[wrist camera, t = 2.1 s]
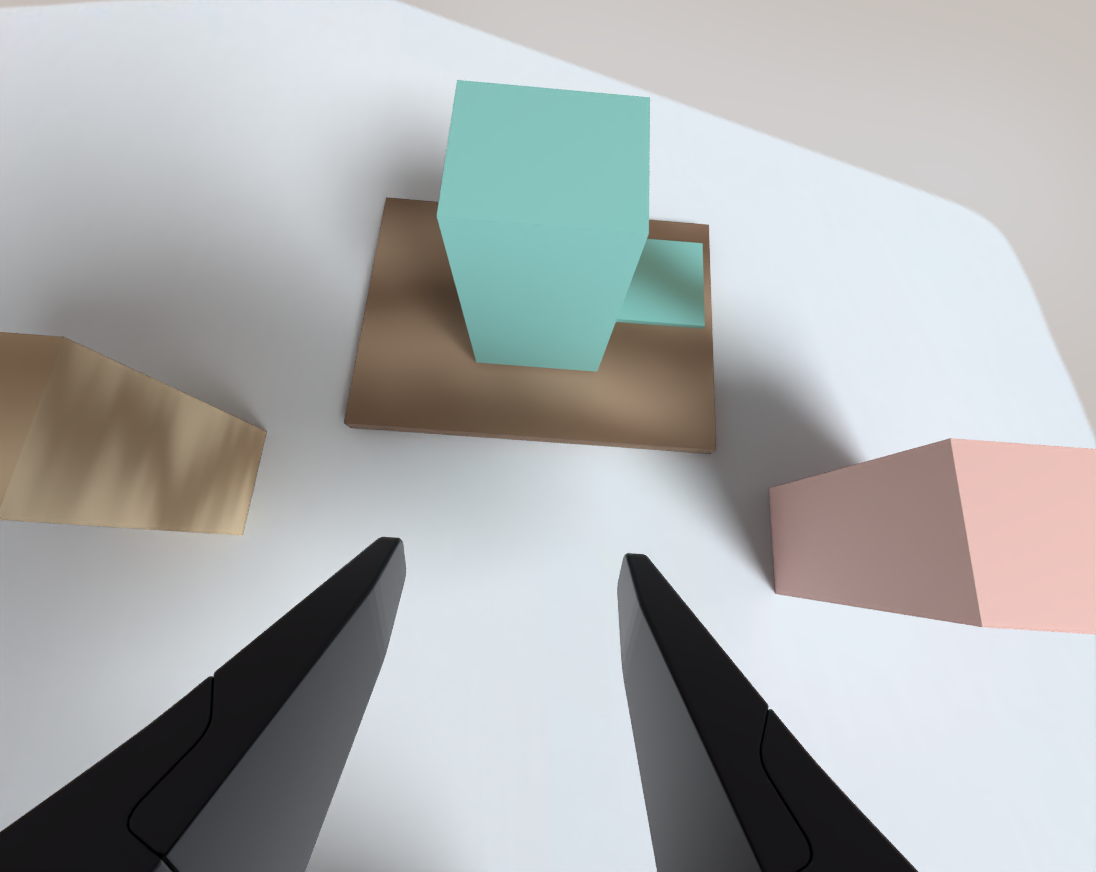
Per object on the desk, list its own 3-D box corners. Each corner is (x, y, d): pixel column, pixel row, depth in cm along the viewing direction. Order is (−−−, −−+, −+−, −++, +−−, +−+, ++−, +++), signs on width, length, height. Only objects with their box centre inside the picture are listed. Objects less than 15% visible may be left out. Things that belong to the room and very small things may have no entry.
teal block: (597, 371, 22) (648, 233, 13) (476, 362, 22) (436, 216, 13) (600, 283, 24) (649, 97, 14) (486, 274, 24) (457, 80, 14)
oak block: (242, 535, 21) (-4, 519, 11) (110, 526, 21) (-255, 503, 11) (266, 431, 22) (64, 336, 12) (142, 422, 22) (-161, 319, 12)
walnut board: (709, 453, 23) (718, 448, 22) (350, 427, 22) (341, 421, 21) (703, 234, 26) (710, 220, 25) (390, 208, 26) (384, 193, 25)
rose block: (900, 601, 21) (1208, 641, 12) (775, 593, 21) (982, 626, 12) (886, 496, 23) (1153, 453, 13) (769, 488, 22) (950, 438, 13)
